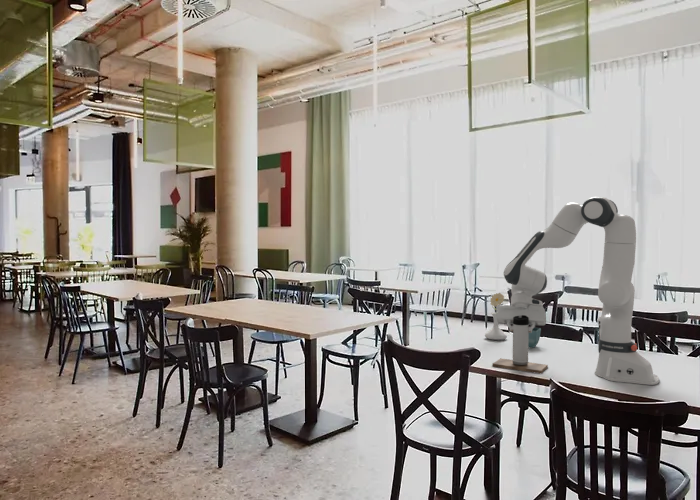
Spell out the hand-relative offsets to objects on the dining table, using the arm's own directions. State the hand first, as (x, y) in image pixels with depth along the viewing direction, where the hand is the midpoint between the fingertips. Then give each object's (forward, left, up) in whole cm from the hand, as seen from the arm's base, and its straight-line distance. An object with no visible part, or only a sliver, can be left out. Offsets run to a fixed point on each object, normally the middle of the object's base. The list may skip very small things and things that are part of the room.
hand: (520, 331), depth 222 cm
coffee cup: (-25, -64, -16) cm, 70 cm away
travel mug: (0, -1, -14) cm, 14 cm away
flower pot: (+7, -43, -16) cm, 46 cm away
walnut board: (0, -1, -15) cm, 15 cm away
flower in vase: (+26, -50, -16) cm, 58 cm away
